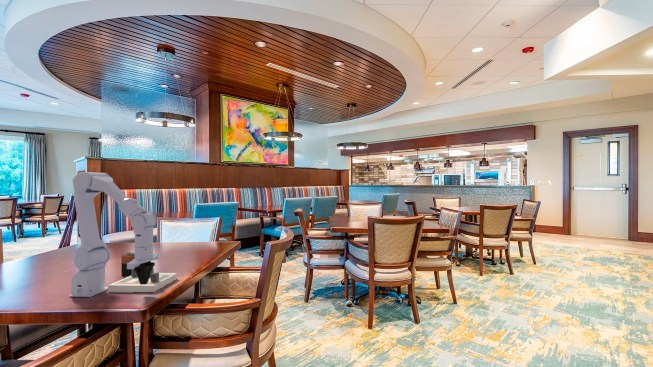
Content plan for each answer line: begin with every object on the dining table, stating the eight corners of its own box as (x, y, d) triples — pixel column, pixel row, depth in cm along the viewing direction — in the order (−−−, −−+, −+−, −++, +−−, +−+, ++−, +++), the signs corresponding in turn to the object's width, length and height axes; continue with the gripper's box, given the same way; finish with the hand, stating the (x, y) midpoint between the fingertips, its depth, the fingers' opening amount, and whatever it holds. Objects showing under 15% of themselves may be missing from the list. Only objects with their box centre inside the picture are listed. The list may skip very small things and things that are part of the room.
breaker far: (136, 276, 119) (136, 269, 119) (131, 276, 120) (131, 269, 120) (139, 274, 121) (139, 267, 121) (134, 274, 122) (134, 267, 122)
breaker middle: (150, 276, 119) (150, 269, 119) (145, 276, 119) (145, 269, 119) (153, 275, 121) (153, 268, 121) (148, 275, 121) (148, 268, 121)
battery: (130, 278, 126) (130, 254, 126) (120, 275, 129) (120, 252, 130) (140, 275, 130) (140, 252, 130) (131, 273, 133) (131, 250, 133)
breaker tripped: (155, 281, 113) (155, 274, 113) (150, 281, 113) (150, 274, 113) (159, 279, 115) (159, 272, 115) (153, 279, 115) (154, 272, 115)
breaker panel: (153, 292, 109) (153, 285, 109) (108, 292, 110) (108, 284, 110) (177, 279, 125) (177, 272, 125) (137, 278, 126) (137, 272, 126)
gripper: (141, 250, 100) (141, 291, 100) (166, 242, 115) (166, 277, 115) (121, 250, 101) (120, 290, 100) (148, 242, 115) (148, 277, 115)
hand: (143, 283), depth 108 cm, fingers closed
